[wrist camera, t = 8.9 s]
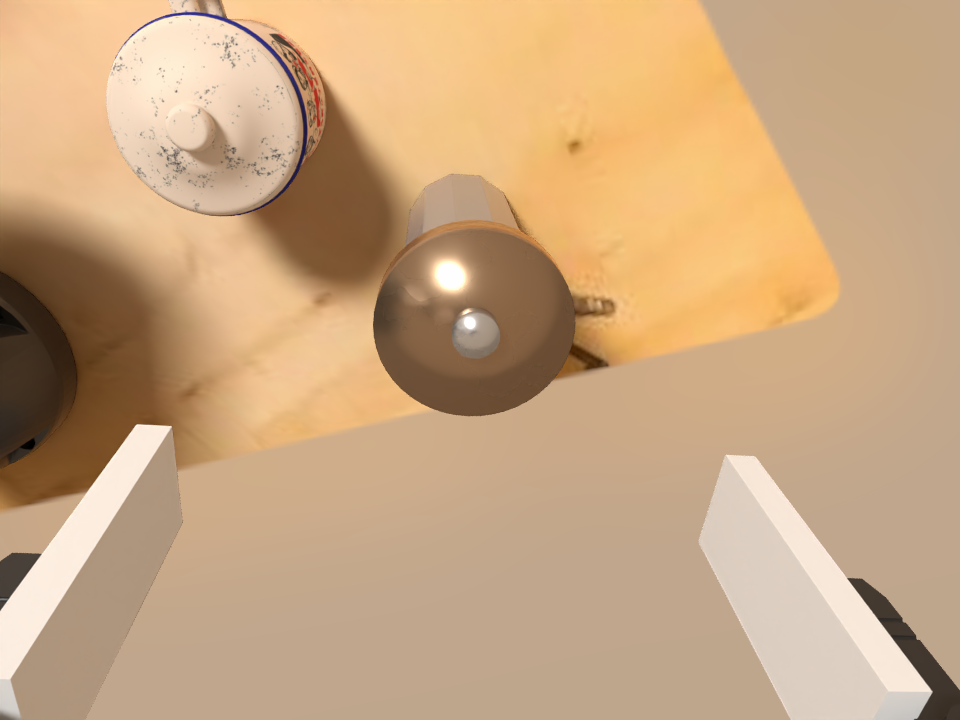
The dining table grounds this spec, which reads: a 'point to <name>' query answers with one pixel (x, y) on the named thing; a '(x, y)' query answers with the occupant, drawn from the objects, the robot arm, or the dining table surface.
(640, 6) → the dining table surface
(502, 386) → the plunger
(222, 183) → the teacup with lid
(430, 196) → the cylinder
